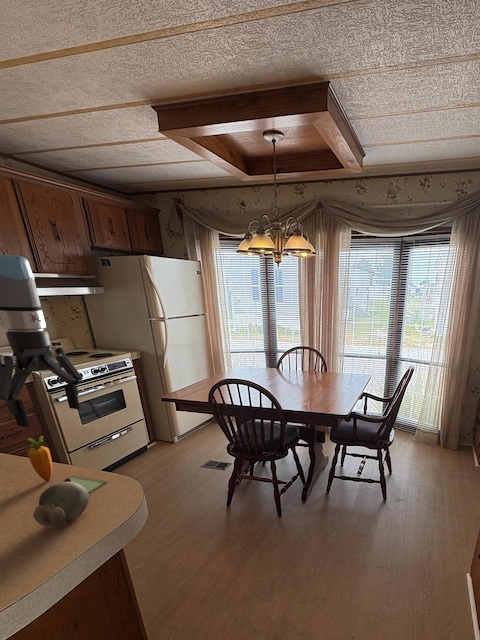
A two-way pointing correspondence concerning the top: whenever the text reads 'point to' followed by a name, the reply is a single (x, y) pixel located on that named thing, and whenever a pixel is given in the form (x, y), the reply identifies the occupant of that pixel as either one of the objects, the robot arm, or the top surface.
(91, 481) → the tray
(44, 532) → the top surface
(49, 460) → the carrot
